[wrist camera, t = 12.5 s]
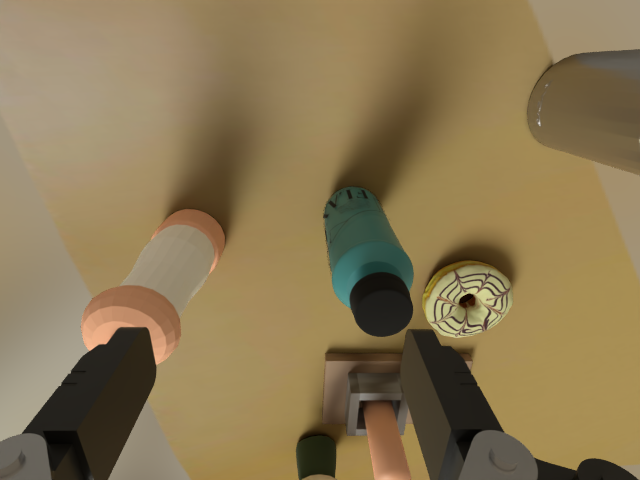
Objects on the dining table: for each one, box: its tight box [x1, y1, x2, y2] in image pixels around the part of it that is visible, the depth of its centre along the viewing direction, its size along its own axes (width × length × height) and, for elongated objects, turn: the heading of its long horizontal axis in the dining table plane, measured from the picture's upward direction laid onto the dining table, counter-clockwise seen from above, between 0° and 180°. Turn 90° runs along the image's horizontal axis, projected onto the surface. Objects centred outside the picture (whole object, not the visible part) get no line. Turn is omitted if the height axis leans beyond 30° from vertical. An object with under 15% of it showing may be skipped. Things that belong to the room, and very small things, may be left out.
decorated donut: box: [422, 260, 513, 338], centre depth 45 cm, size 10×11×4 cm
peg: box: [362, 400, 411, 480], centre depth 46 cm, size 4×4×12 cm
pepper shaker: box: [81, 209, 225, 365], centre depth 34 cm, size 7×7×19 cm
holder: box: [322, 353, 473, 436], centre depth 51 cm, size 20×12×5 cm, turn 88°
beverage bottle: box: [323, 186, 414, 337], centre depth 33 cm, size 6×7×20 cm
